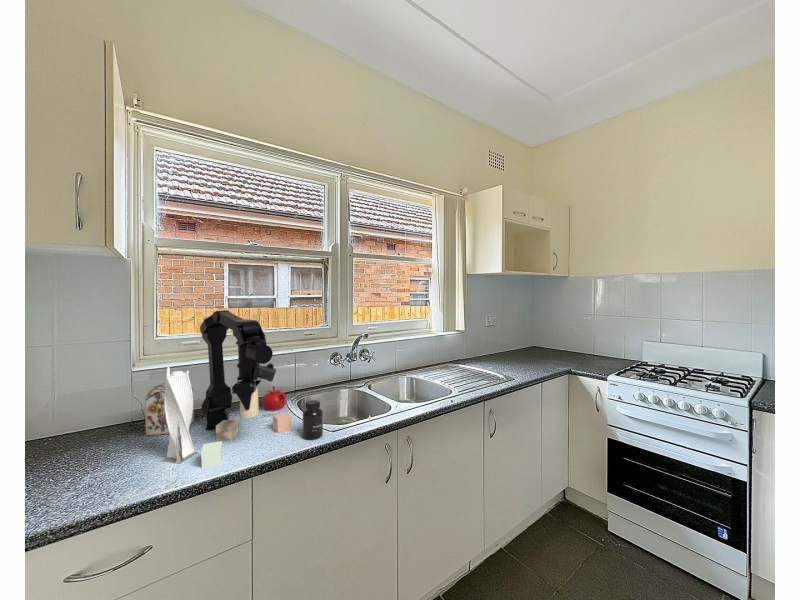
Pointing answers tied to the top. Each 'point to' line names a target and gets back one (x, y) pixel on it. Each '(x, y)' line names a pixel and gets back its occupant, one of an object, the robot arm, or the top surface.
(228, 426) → the birch block
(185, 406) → the skyscraper
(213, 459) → the sage block
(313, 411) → the supplement bottle
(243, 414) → the candle
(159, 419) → the decorative jar
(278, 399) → the pomegranate
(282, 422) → the terracotta block
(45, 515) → the top surface
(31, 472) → the top surface
